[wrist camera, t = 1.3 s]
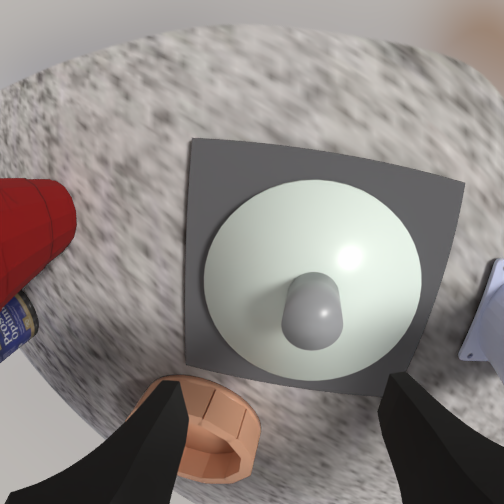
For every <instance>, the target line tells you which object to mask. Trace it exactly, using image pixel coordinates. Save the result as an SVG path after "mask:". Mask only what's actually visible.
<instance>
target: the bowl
mask: <svg viewBox="0 0 504 504" xmlns="http://www.w3.org/2000/svg"><path fill="white" fill-rule="evenodd" d="M162 380H170V381H180V385H181V389H182V393H183V397H184V401H185V405H186V408H187V412H188V416H189V425H188V432H187V438H186V444H185V448H184V451H183V455H182V459H181V462H180V466H179V469H178V473H177V475H178V476H181V477H184V478H188V479H191V480H194V481H198V482H202V483H212V484H231V483H234V482H237V481H239V480H241V479H244V478H246V477H248V476H250V475H251V471H252V467H253V463H254V459H255V455H256V451H257V447H258V442H259V438H260V434H261V423H260V420H259V418H258V416H257V414H256V412H255V411H254V410H253V408H252V407H251V406H250V405H249V404H248V403H247V402H246V401H245V400H244V399H243V398H241V397H240V396H239V395H237V394H236V393H234V392H233V391H231V390H229V389H228V388H226V387H224V386H222V385H219V384H217V383H215V382H212V381H209V380H206V379H203V378H199V377H194V376H187V375H170V376H165V377H162V378H159V379H157V380H156V381H154V382H153V383H152V384H151V385H150V386H149V387H148V389H147V390H146V392H145V393H144V394H143V395H142V397H141V398H140V399H139V401H138V402H137V404H136V405H135V407H134V408H133V410H132V411H131V413H130V414H129V416H128V417H127V419H128V418H129V417H130V416H131V415H132V414H133V413H134V412H135V411H136V410H137V409H138V407H139V406H140V405H141V404H142V403H143V402H144V401H145V400H146V398H147V397H148V396H149V395H150V394H151V393H152V391H153V390H154V389H155V388H156V387H157V385H158V384H159V383H160V382H161V381H162ZM127 419H126V420H127ZM126 420H125V421H126Z"/></svg>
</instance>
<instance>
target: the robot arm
mask: <svg viewBox="0 0 504 504" xmlns="http://www.w3.org/2000/svg"><path fill="white" fill-rule="evenodd" d="M503 267H504V259H503V258H498V259H496V261H495V262H494V264H493V268H492V271H491V274H490V277H489V280H488V283H487V286H486V289H485V291H484V294H483V297H482V300H481V302H480V305H479V307H478V310H477V312H476V315H475V317H474V320H473V322H472V325H471V327H470V329H469V331H468V334H467V336H466V338H465V340H464V343H463V345H462V347H461V349H460V351H459V353H458V357H459V359H460V360H462V361H489V362H490V363H491V365H492V367H493V368H494V370H495V371H496V373H497V375H498V376H499V378H500V380H501V381H502V383H503V385H504V269H503ZM468 354H470V355H468ZM377 412H378V417H379V422H380V427H381V431H382V436H383V439H384V442H385V445H386V448H387V451H388V454H389V456H390V459H391V462H392V465H393V468H394V471H395V474H396V477H397V480H398V484H399V487H400V491H401V497H402V503H403V504H504V447H503V446H501V445H499V444H497V443H495V442H493V441H491V440H489V439H488V438H486V437H484V436H483V435H481V434H480V433H478V432H476V431H475V430H473V429H472V428H470V427H469V426H468V425H466V424H465V423H464V422H462V421H461V420H460V419H458V418H457V417H456V416H455V415H453V414H452V413H451V412H450V411H448V410H447V409H446V408H445V407H444V406H443V405H441V404H440V403H439V402H438V401H437V400H436V399H435V398H434V397H432V396H431V395H430V394H429V393H428V392H427V391H426V390H425V389H424V388H423V387H422V386H420V385H419V384H418V383H417V382H416V381H415V380H414V379H413V378H412V377H411V376H410V375H409V374H407V373H406V372H405V371H404V372H397V373H391V374H389V377H388V381H387V384H386V387H385V390H384V394H383V397H382V400H381V403H380V406H379V409H378V411H377ZM188 425H189V416H188V412H187V408H186V405H185V401H184V397H183V393H182V389H181V385H180V381H170V380H162V381H161V382H160V383H159V384H158V385H157V387H156V388H155V389H154V390H153V391H152V393H151V394H150V395H149V396H148V397H147V398H146V400H145V401H144V402H143V403H142V404H141V405H140V406H139V407H138V409H137V410H136V411H135V412H134V413H133V414H132V415H131V416H130V417H129V418H128V419H127V420H126V421H125V422H124V423H123V424H122V425H121V426H120V427H119V428H118V429H117V430H116V431H115V432H114V433H113V434H112V435H111V436H110V437H109V438H108V439H107V440H105V441H104V442H103V443H102V444H101V445H100V446H99V447H97V448H96V449H95V450H94V451H92V452H91V453H89V454H88V455H87V456H85V457H84V458H82V459H81V460H79V461H78V462H76V463H75V464H73V465H72V466H70V467H69V468H67V469H65V470H64V471H62V472H60V473H58V474H56V475H54V476H52V477H50V478H48V479H46V480H44V481H42V482H39V483H37V484H35V485H32V486H29V487H26V488H23V489H20V490H17V491H14V492H11V493H10V494H9V496H8V498H7V500H6V502H5V504H169V503H170V499H171V494H172V490H173V487H174V483H175V480H176V476H177V473H178V469H179V466H180V462H181V459H182V455H183V451H184V448H185V444H186V438H187V432H188Z"/></svg>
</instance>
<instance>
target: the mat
mask: <svg viewBox="0 0 504 504" xmlns="http://www.w3.org/2000/svg"><path fill="white" fill-rule="evenodd" d="M307 179H321V180H332V181H336V182H341V183H345V184H348V185H351V186H353V187H356V188H358V189H361V190H363V191H365V192H366V193H368V194H370V195H372V196H373V197H375V198H376V199H378V200H379V201H380V202H382V203H383V204H384V205H385V206H387V207H388V208H389V209H390V210H391V211H392V212H393V213H394V214H395V215H396V216H397V217H398V218H399V219H400V221H401V222H402V223H403V225H404V226H405V228H406V229H407V231H408V232H409V234H410V236H411V238H412V240H413V242H414V244H415V247H416V250H417V253H418V256H419V261H420V267H421V292H420V299H419V303H418V306H417V310H416V313H415V315H414V317H413V320H412V322H411V324H410V326H409V327H408V329H407V331H406V332H405V334H404V335H403V336H402V338H401V339H400V340H399V342H398V343H397V344H396V345H395V346H394V347H393V348H392V349H391V350H390V351H389V352H388V353H387V354H386V355H384V356H383V357H382V358H380V359H379V360H378V361H376V362H375V363H373V364H371V365H370V366H368V367H366V368H364V369H362V370H360V371H358V372H355V373H353V374H350V375H347V376H344V377H339V378H335V379H329V380H319V381H306V380H296V379H290V378H286V377H281V376H278V375H275V374H272V373H269V372H267V371H265V370H263V369H261V368H258V367H257V366H255V365H253V364H252V363H250V362H248V361H247V360H246V359H244V358H243V357H242V356H240V355H239V354H238V353H237V352H236V351H235V350H234V349H233V348H232V347H231V346H230V345H229V344H228V343H227V342H226V341H225V339H224V338H223V337H222V335H221V334H220V332H219V331H218V329H217V328H216V326H215V324H214V322H213V320H212V318H211V315H210V313H209V310H208V306H207V303H206V298H205V292H204V271H205V264H206V260H207V256H208V252H209V249H210V247H211V245H212V242H213V240H214V238H215V236H216V235H217V233H218V231H219V230H220V228H221V226H222V225H223V224H224V223H225V222H226V220H227V219H228V218H229V217H230V215H232V214H233V213H234V212H235V211H236V210H237V209H238V208H239V207H240V206H241V205H243V204H244V203H245V202H247V201H248V200H249V199H251V198H252V197H254V196H255V195H257V194H259V193H261V192H263V191H265V190H267V189H269V188H271V187H274V186H277V185H280V184H283V183H286V182H292V181H297V180H307ZM464 187H465V183H464V182H460V181H457V180H453V179H450V178H446V177H443V176H439V175H435V174H431V173H427V172H423V171H419V170H415V169H411V168H407V167H403V166H398V165H394V164H389V163H385V162H380V161H375V160H370V159H365V158H360V157H354V156H349V155H343V154H337V153H331V152H325V151H319V150H312V149H305V148H298V147H290V146H282V145H274V144H265V143H255V142H245V141H233V140H219V139H203V138H192V148H191V160H190V174H189V190H188V209H187V231H186V265H185V348H186V365H189V366H193V367H196V368H200V369H205V370H209V371H213V372H217V373H222V374H226V375H231V376H235V377H240V378H245V379H250V380H255V381H260V382H266V383H271V384H277V385H283V386H289V387H296V388H302V389H309V390H317V391H325V392H333V393H342V394H352V395H363V396H377V397H383V394H384V390H385V387H386V384H387V381H388V377H389V374H391V373H397V372H404V371H405V372H406V370H407V368H408V366H409V364H410V362H411V359H412V357H413V355H414V353H415V350H416V348H417V346H418V343H419V341H420V339H421V336H422V334H423V331H424V329H425V326H426V324H427V321H428V318H429V316H430V313H431V310H432V308H433V305H434V302H435V299H436V296H437V293H438V290H439V287H440V284H441V281H442V278H443V275H444V271H445V268H446V265H447V261H448V258H449V254H450V250H451V247H452V243H453V239H454V235H455V231H456V227H457V222H458V218H459V213H460V208H461V203H462V198H463V193H464Z"/></svg>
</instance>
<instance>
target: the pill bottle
mask: <svg viewBox="0 0 504 504" xmlns="http://www.w3.org/2000/svg"><path fill="white" fill-rule="evenodd" d="M37 331H38V320H37V315H36V312H35V310H34V308H33V306H32V304H31V302H30V301H29V299H28V298H27V296H26V295H25V294H24V293H23V292H22V291H21V290H20V291H19V292H18V293H17V294H16V295H15V296H14V297H13V298H12V299H11V300H10V301H9V302H8V303H7V304H6V305H5V306H4V307H3V308H2V310H1V312H0V363H1V362H2V361H4V360H5V359H6V358H7V357H8V356H10V355H11V354H12V353H13V352H15V351H16V350H17V349H18V348H20V347H21V346H22V345H23V344H25V343H26V342H27V341H29V340H30V339H31V338H32V337H34V336H35V335H36V333H37Z"/></svg>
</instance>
